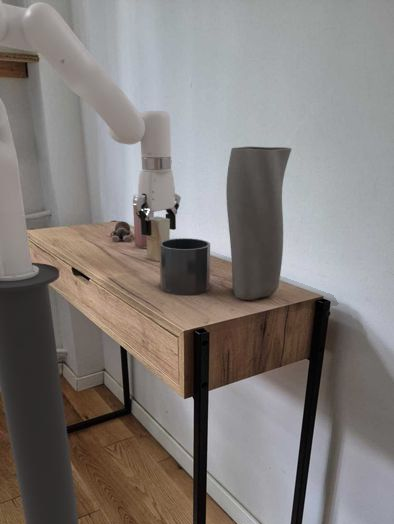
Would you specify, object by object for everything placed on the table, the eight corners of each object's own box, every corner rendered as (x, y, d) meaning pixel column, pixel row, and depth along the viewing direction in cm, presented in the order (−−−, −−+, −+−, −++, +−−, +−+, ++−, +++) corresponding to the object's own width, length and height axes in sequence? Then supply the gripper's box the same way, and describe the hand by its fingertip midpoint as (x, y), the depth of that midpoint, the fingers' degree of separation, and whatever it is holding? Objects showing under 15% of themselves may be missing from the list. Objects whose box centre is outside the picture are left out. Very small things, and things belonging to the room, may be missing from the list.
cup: (188, 298, 104) (188, 252, 100) (150, 288, 110) (149, 244, 106) (219, 286, 112) (220, 243, 108) (182, 277, 118) (181, 236, 114)
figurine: (134, 246, 153) (136, 233, 161) (134, 231, 150) (135, 219, 158) (108, 246, 153) (110, 233, 161) (106, 231, 150) (109, 219, 158)
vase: (249, 308, 99) (258, 149, 86) (212, 293, 108) (216, 147, 95) (291, 297, 105) (306, 148, 92) (253, 283, 114) (262, 145, 101)
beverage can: (151, 243, 151) (149, 193, 144) (157, 247, 146) (155, 196, 139) (132, 245, 149) (130, 194, 142) (138, 249, 144) (135, 197, 137)
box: (146, 258, 134) (145, 217, 130) (157, 255, 137) (156, 215, 132) (159, 261, 131) (158, 220, 126) (170, 259, 134) (170, 218, 129)
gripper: (168, 161, 132) (169, 225, 139) (121, 166, 120) (126, 235, 127) (189, 163, 128) (189, 228, 135) (143, 167, 116) (146, 239, 123)
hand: (159, 231), depth 131 cm, fingers open, 9 cm apart
